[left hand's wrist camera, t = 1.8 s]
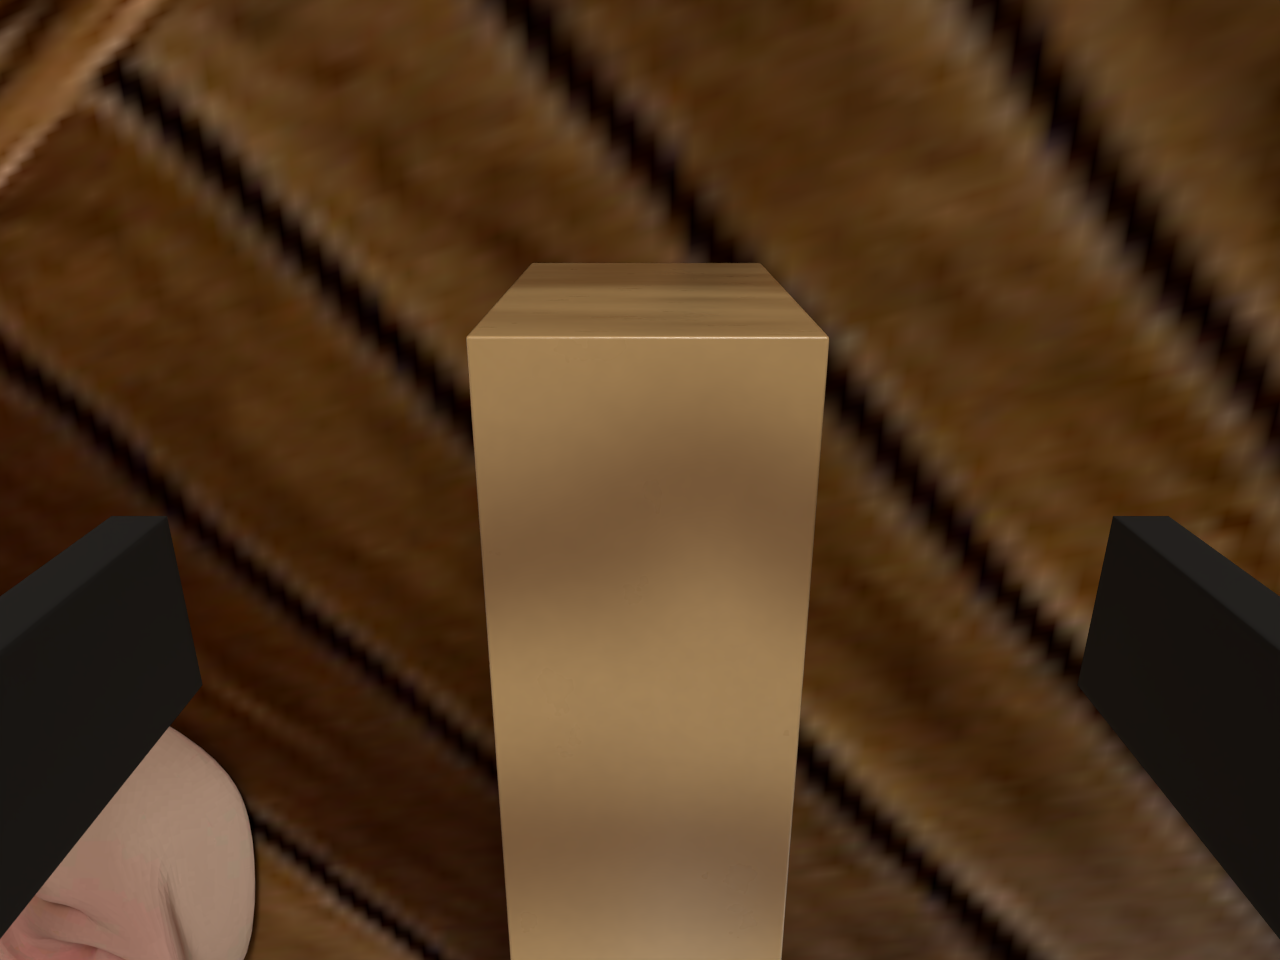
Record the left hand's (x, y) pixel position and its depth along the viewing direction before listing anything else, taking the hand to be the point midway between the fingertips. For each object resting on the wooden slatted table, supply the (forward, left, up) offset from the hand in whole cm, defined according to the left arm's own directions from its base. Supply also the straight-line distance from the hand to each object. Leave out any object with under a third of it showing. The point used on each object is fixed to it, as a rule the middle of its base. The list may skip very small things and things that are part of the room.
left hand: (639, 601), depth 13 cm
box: (-6, +5, -14) cm, 16 cm away
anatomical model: (+1, +25, -14) cm, 29 cm away
